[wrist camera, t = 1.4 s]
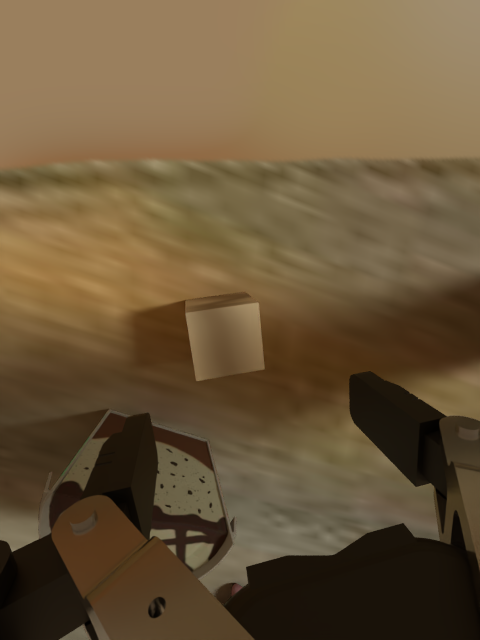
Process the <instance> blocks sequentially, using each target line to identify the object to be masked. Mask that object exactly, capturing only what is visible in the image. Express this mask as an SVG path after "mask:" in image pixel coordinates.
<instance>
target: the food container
mask: <svg viewBox="0 0 480 640" xmlns="http://www.w3.org/2000/svg"><path fill="white" fill-rule="evenodd" d="M128 416H131V415H127V414H124V413H121V412H118V411H115V410H112V409H109V410H108V411H107V412H106V414H105V415H104V417H103V418H102V419H101V421H100V422H99V424H98V425H97V426H96V428H95V429H94V430H93V432H92V433H91V435H90V436H89V437H88V439H87V440H86V441H85V443H84V444H83V446H82V447H81V448H80V450H79V451H78V453H77V454H76V455H75V457H74V458H73V459H72V461H71V462H70V464H69V465H68V466H67V468H66V469H65V470H64V472H63V473H62V475H61V476H60V477H59V479H58V480H57V482H56V483H55V484H54V486H53V487H52V488H51V490H48V489H49V484H50V480H51V477H52V473H53V472H49V476H48V479H47V482H46V486H45V489H44V492H43V496H42V499H41V502H40V508H39V527H38V531H39V539H41V538H43V537H44V536H46V535H48V534H50V533H51V532H52V529H53V526H54V524H55V523H56V521H57V519H58V518H59V517H60V516H61V514H62V513H63V512H64V511H66V510H67V509H68V508H69V507H70V506H72V505H73V504H75V503H76V502H78V501H80V499H81V496H82V494H83V491H84V489H85V487H86V484H87V482H88V479H89V477H90V474H91V472H92V469H93V467H94V466H95V462H96V460H97V458H98V455H99V452H100V450H101V447H102V445H103V444H104V442H105V441H106V440H107V439H108V438H109V437H110V436H111V435H112V434H114V433H119V432H122V430H123V427H124V424H125V421H126V418H127V417H128ZM151 423H152V428H153V433H154V438H155V442H156V447H157V453H158V471H157V479H156V488H155V496H154V505H153V514H152V522H151V531H150V538H151V537H153V536H157V537H158V538H159V539H161V540H162V541H163V542H164V543H165V544H166V546H167V547H168V548H169V549H170V550H171V551H172V552H173V553H174V554H175V555H176V556H177V557H178V558H179V559H180V561H181V562H182V563H183V564H184V565H185V566H186V567H187V568H188V569H189V570H190V571H191V572H192V573H193V574H194V575H195V577H196V578H197V579H198V580H200V579H201V578H203V577H204V576H205V575H207V574H208V573H210V572H211V571H212V570H213V569H214V568H215V567H216V566H217V565H219V564H220V562H221V561H222V560H223V559H224V558H225V557H226V555H227V554H228V553H229V551H230V550H231V548H232V547H233V545H234V538H235V537H236V517H234V518H233V520H232V521H231V523H230V521H229V517H228V514H227V510H226V506H225V502H224V498H223V494H222V490H221V486H220V482H219V478H218V474H217V470H216V467H215V463H214V459H213V455H212V451H211V447H210V443H209V440H207V439H204V438H201V437H198V436H195V435H191V434H188V433H185V432H182V431H179V430H175V429H172V428H169V427H166V426H163V425H159V424H156V423H153V422H151Z"/></svg>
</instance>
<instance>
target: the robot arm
mask: <svg viewBox="0 0 480 640" xmlns="http://www.w3.org/2000/svg"><path fill="white" fill-rule="evenodd" d="M349 395H350V414H351V417H352V419H353V421H354V423H355V424H356V426H357V427H358V428H359V429H360V430H361V431H362V432H363V433H364V434H365V435H366V436H367V437H368V438H369V439H370V440H371V441H372V442H373V443H374V444H375V445H376V446H377V447H378V448H379V449H380V450H381V451H382V452H383V453H384V454H385V456H386V457H387V458H388V459H389V460H390V461H391V462H392V463H393V464H394V465H395V466H396V467H397V468H398V469H399V470H400V471H401V472H402V473H403V474H404V475H405V476H406V477H407V478H408V479H409V480H410V481H411V482H412V483H413V484H414V486H415V487H417V486H421V485H425V484H429V483H431V484H432V485H433V486H434V503H435V510H436V518H437V525H438V532H439V539H440V541H436V540H432V539H426V538H417V537H414V536H413V535H412V533H411V532H410V531H409V530H408V528H407V527H406V526H405V525H404V523H402V524H399V525H395V526H391V527H388V528H384V529H381V530H377V531H373V532H370V533H367V534H365V535H364V536H362V537H361V538H359V539H358V540H356V541H355V542H353V543H352V544H350V545H349V546H347V547H346V548H344V549H343V550H341V551H340V552H338V553H337V554H335V555H329V556H284V557H280V558H277V559H273V560H269V561H266V562H262V563H259V564H255V565H252V566H248V567H246V570H247V577H248V584H247V585H246V586H244V587H243V588H241V589H240V590H239V591H238V592H236V593H235V594H234V595H233V596H232V597H231V598H230V599H229V600H228V601H227V602H226V603H225V604H224V605H222V604H221V603H220V602H219V601H218V600H217V599H216V598H215V597H214V596H213V595H212V594H211V593H210V591H209V590H208V589H207V588H206V587H205V586H204V585H203V584H202V583H201V582H200V581H199V580H198V579H197V578H196V577H195V575H194V574H193V573H192V572H191V571H190V570H189V569H188V568H187V567H186V566H185V565H184V564H183V563H182V562H181V561H180V559H179V558H178V557H177V556H176V555H175V554H174V553H173V552H172V551H171V550H170V549H169V548H168V547H167V546H166V544H165V543H164V542H163V541H162V540H161V539H159V538H158V537H157V536H153V537H151V538H150V531H151V522H152V514H153V505H154V496H155V488H156V479H157V471H158V453H157V447H156V442H155V438H154V433H153V428H152V423H151V419H150V415H149V413H144V414H139V415H133V416H128V417H127V418H126V421H125V424H124V427H123V430H122V432H119V433H114V434H112V435H111V436H110V437H109V438H108V439H107V440H106V441H105V442H104V444H103V445H102V447H101V450H100V452H99V455H98V458H97V460H96V462H95V466H94V467H93V469H92V472H91V474H90V477H89V479H88V482H87V484H86V487H85V489H84V491H83V494H82V496H81V499H80V501H78V502H76V503H75V504H73V505H72V506H70V507H69V508H68V509H67V510H66V511H64V512H63V513H62V514H61V516H60V517H59V518H58V519H57V521H56V523H55V524H54V526H53V529H52V532H51V533H50V534H48V535H46V536H44V537H43V538H41V539H38V540H36V541H34V542H32V543H30V544H28V545H26V546H24V547H22V548H20V549H18V550H16V551H14V552H12V551H11V549H10V546H9V544H8V543H7V542H5V541H2V540H0V640H59V639H60V638H62V637H64V636H65V635H67V634H68V633H70V632H71V631H73V630H75V629H76V628H78V627H79V626H81V625H82V626H83V628H84V630H85V632H86V634H87V636H88V638H89V640H480V421H478V420H476V419H472V418H469V417H464V416H445V415H444V414H442V413H441V412H439V411H438V410H436V409H435V408H433V407H432V406H430V405H428V404H427V403H425V402H424V401H422V400H421V399H418V397H416V396H414V395H413V394H410V393H409V392H408V391H407V390H405V389H404V388H402V387H401V386H399V385H396V384H393V383H391V382H388V381H384V380H383V379H381V378H380V377H378V376H377V375H375V374H374V373H372V372H370V371H368V372H363V373H358V374H353V375H351V376H350V379H349Z"/></svg>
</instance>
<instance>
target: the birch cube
mask: <svg viewBox="0 0 480 640" xmlns="http://www.w3.org/2000/svg"><path fill="white" fill-rule="evenodd" d="M185 314H186V320H187V327H188V333H189V339H190V345H191V352H192V358H193V364H194V370H195V377H196V381H201V380H207V379H213V378H218V377H224V376H230V375H235V374H241V373H247V372H252V371H258V370H264V369H265V366H264V355H263V345H262V334H261V323H260V312H259V302H257V301H256V300H255V299H253V298H252V297H251V296H250V295H248V294H247V293H246V292H241V293H233V294H226V295H219V296H211V297H204V298H197V299H189V300H185Z"/></svg>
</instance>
